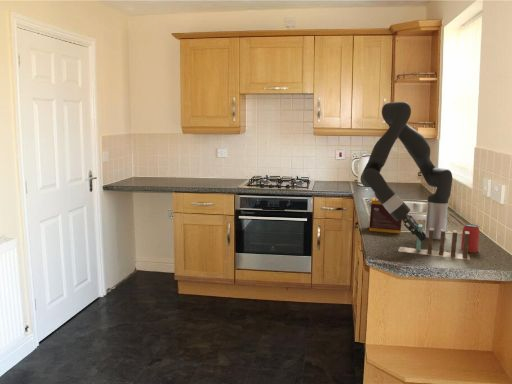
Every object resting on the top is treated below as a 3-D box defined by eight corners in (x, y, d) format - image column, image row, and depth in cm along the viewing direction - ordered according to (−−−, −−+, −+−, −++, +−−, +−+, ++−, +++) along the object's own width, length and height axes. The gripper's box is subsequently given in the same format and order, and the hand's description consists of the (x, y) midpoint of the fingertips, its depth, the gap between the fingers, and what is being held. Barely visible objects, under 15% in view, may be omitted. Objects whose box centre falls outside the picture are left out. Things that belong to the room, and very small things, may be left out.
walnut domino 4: (462, 258, 198) (465, 233, 196) (462, 254, 203) (464, 231, 201) (467, 258, 197) (469, 234, 196) (466, 255, 202) (469, 231, 201)
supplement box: (400, 233, 243) (403, 202, 241) (368, 230, 247) (371, 200, 245) (400, 229, 253) (403, 199, 251) (370, 226, 257) (372, 197, 255)
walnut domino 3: (450, 256, 200) (453, 232, 198) (450, 253, 204) (452, 229, 203) (455, 257, 199) (457, 232, 197) (454, 254, 204) (457, 230, 202)
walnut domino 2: (438, 255, 201) (441, 231, 200) (439, 252, 206) (441, 228, 204) (443, 255, 201) (445, 231, 199) (443, 252, 205) (445, 229, 204)
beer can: (469, 255, 207) (472, 227, 205) (457, 251, 213) (459, 224, 211) (480, 254, 210) (483, 226, 208) (468, 250, 215) (471, 223, 214)
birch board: (397, 253, 205) (398, 251, 205) (399, 249, 213) (399, 246, 213) (469, 262, 196) (469, 259, 196) (468, 257, 203) (469, 254, 203)
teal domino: (416, 250, 204) (418, 226, 203) (416, 247, 209) (418, 224, 207) (420, 250, 203) (422, 226, 202) (420, 247, 208) (422, 224, 207)
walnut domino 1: (427, 253, 203) (429, 229, 201) (427, 250, 207) (429, 227, 206) (431, 254, 202) (433, 230, 201) (431, 251, 207) (433, 227, 205)
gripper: (401, 204, 199) (431, 236, 197) (404, 199, 212) (431, 229, 210) (387, 215, 202) (416, 248, 199) (390, 210, 215) (417, 240, 213)
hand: (424, 238), depth 205 cm, fingers closed on teal domino, 4 cm apart
